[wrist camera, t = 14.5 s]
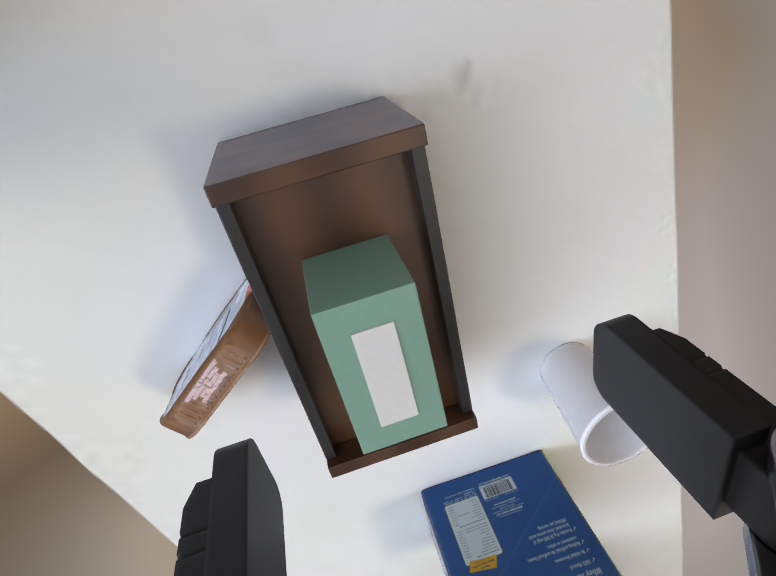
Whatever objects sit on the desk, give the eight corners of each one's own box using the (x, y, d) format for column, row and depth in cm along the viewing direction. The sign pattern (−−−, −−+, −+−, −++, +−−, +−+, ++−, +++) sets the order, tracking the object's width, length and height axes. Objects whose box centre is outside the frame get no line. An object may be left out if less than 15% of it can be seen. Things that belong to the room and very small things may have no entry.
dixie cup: (615, 349, 52) (684, 415, 44) (563, 404, 55) (619, 476, 46) (566, 319, 48) (632, 384, 40) (512, 379, 51) (563, 452, 42)
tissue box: (347, 387, 36) (363, 456, 30) (301, 259, 30) (311, 316, 25) (419, 363, 36) (448, 426, 31) (387, 233, 31) (415, 283, 25)
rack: (318, 392, 46) (332, 478, 37) (217, 142, 33) (202, 187, 25) (438, 352, 47) (478, 428, 38) (383, 95, 34) (424, 123, 26)
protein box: (545, 500, 63) (621, 629, 50) (432, 540, 62) (480, 683, 48) (542, 447, 57) (626, 576, 44) (418, 489, 56) (467, 636, 43)
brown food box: (203, 388, 44) (184, 464, 36) (170, 374, 42) (142, 450, 35) (295, 264, 39) (293, 324, 32) (260, 244, 37) (249, 302, 30)
